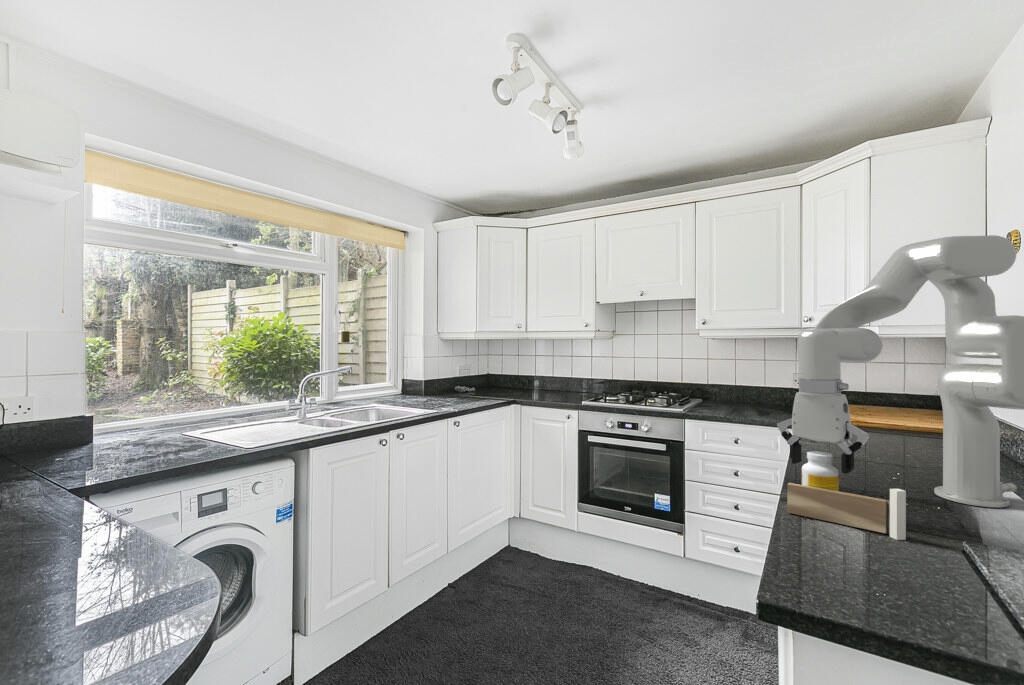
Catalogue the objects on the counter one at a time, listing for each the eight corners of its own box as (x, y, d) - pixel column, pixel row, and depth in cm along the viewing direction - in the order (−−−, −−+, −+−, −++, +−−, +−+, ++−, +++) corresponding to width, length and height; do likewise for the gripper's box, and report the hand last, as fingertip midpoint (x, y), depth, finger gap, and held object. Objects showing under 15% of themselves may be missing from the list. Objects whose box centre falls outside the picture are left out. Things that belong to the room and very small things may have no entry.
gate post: (898, 536, 89) (898, 488, 89) (905, 539, 88) (905, 491, 88) (889, 536, 89) (889, 488, 89) (896, 539, 87) (896, 491, 87)
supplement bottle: (846, 519, 98) (846, 457, 98) (813, 519, 98) (814, 457, 98) (825, 508, 104) (825, 450, 104) (795, 508, 104) (795, 449, 104)
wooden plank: (788, 510, 102) (788, 482, 102) (893, 533, 90) (893, 500, 90) (787, 512, 101) (787, 483, 101) (893, 535, 89) (893, 502, 89)
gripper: (874, 388, 96) (876, 473, 96) (785, 383, 110) (786, 456, 110) (860, 391, 92) (861, 480, 92) (769, 385, 106) (770, 462, 106)
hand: (820, 467), depth 101 cm, fingers open, 9 cm apart
